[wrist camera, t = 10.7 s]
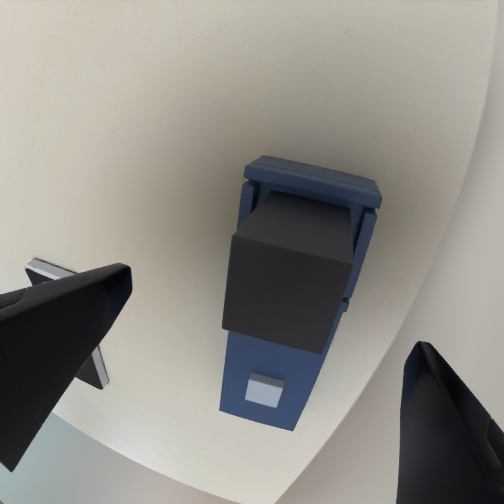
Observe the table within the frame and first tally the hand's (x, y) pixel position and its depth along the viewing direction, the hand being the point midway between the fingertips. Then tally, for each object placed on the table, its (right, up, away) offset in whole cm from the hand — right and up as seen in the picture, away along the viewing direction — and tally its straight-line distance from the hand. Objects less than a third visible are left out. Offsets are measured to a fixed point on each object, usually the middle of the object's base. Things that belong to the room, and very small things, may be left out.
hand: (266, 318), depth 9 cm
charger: (+2, +3, +7) cm, 8 cm away
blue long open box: (+2, -2, +13) cm, 13 cm away
